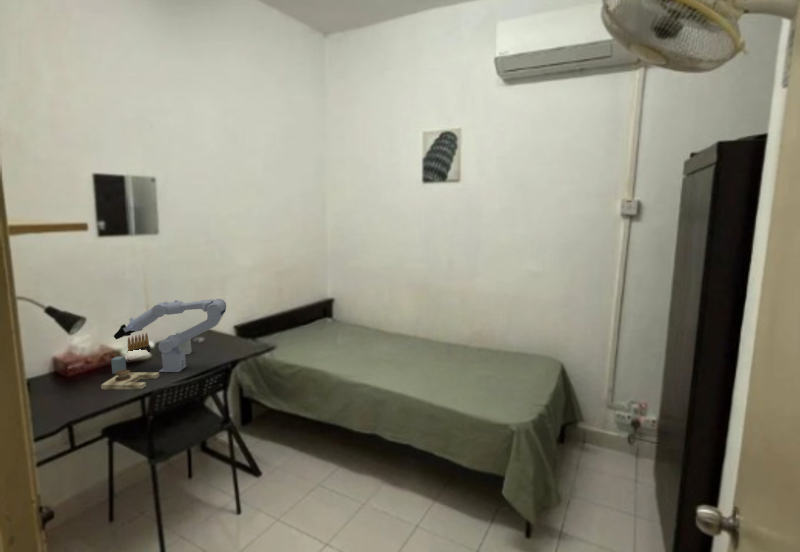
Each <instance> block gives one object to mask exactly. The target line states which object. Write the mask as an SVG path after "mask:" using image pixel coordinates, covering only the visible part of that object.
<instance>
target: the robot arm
mask: <svg viewBox="0 0 800 552" xmlns="http://www.w3.org/2000/svg"><path fill="white" fill-rule="evenodd" d="M190 310H202V311H203V312H204V313H206V315H207V317H206V319H205V320H203V321H201V322H199V323H198V324H195V325H194V326H192V327H190V328H188V329H187V328H186V330H182V331H183V332H182V333H179V334H177V335H176V334H171V335H169V336H168V337H166V338H165V339H163V340H162V341H160V342H159V343H158V351H159V352H161V362H162V363H161V364H162V368H161V369H159V370H158V372H159V373H179V372H181V371H182V370H183V369H185V368H186V367H187V364H186V355H185V353H184V352H183V351H179V349H178V346H179V345H180V344H182V343H183V342H185V341H187V340H189V339H193V338H195V337H197V336H199V335H201V334H203V333H205V332H207V331H209V330H211V329H213V328H215V327H217V326H218V325H219V324H220V322H221V320H222V318H223V316H224V314H225V312H226V311H227V303H226V302H225V300H223V299H222V298H216V299H204V300H198V301H192V302H183V301H181V300H178V299H175V300H174V301H170V302H168V301H164V302H163V301H162V302H158V303H157V304H155V305H154V306H152V307H151V308H150V309H147V310H146V311H144V312H143V313H142V314H140V315H138V316H137V317H135V318H133V317H130V318H128V319H129V322H128V324H127V325H126V324H125V323H124V324H121V326H120V328H119V329H118V330H117V332H116V333H114V335H113V337H114V339H115V340H118V339H122V338H124V337H128V336H129V337H130V336H131V335H132V333H136V332H141V331H143V329H144V328H146V327H147V326H149V325H150V324H152V323H154V322H155V321H157V320H158V319H159V318H162V317H164V316H165V315H167V316H169V315H177V314H178V315H179V314H183V313H184V312H185V311H190Z"/></svg>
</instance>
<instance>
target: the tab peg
mask: <svg viewBox="0 0 800 552" xmlns="http://www.w3.org/2000/svg"><path fill="white" fill-rule="evenodd" d="M110 363H111V372H112V373H111V374H112V375H115V372H117V371H120V370H127V364H126V363H127V362H126V356H114V357H113V358H111V359H110Z"/></svg>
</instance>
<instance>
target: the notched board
mask: <svg viewBox="0 0 800 552" xmlns="http://www.w3.org/2000/svg"><path fill="white" fill-rule="evenodd" d="M158 378H160V372H159V371H158V372H157V371H156V372H151V371H149V372H146V371H145V372H144V371H143V372H140V371H138V372H135V371H133V372H132V371H131V370H130V369H126V370H120V371H117V372H115V374H114V376H113V377H112V378H110V379H108V380H106V381H105V382H103V383H102V384H100V387H101V390H144V389H145V388H147V382H146V381H145V382H143V381H140V380H157V379H158ZM139 381H140V382H139ZM144 387H145V388H144ZM143 388H144V389H143Z"/></svg>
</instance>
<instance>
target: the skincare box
mask: <svg viewBox="0 0 800 552" xmlns="http://www.w3.org/2000/svg"><path fill="white" fill-rule="evenodd" d="M183 331H184V330H177V332H175V335H177V334H179V333H182V332H183ZM191 339H192V338H191ZM191 339H189V340H187V341H185V342H183V343H182V344H180V345H179V346H178V349H179V351H183V352H184V353H185V356H186V355H187V354H188V355H190V354H191V353H192V343H191V342H192V341H191ZM188 355H187V356H188Z"/></svg>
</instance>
